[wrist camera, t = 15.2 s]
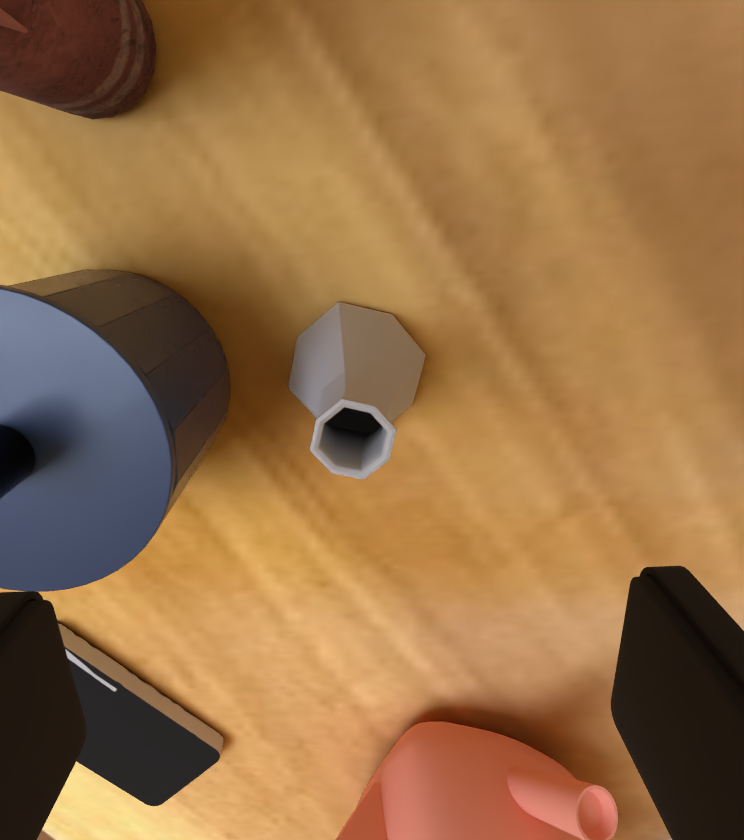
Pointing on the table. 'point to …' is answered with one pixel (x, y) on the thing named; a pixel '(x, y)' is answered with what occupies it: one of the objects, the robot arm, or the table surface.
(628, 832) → the table surface
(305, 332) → the flask
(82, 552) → the pot lid
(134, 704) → the smartphone
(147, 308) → the pot
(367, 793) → the teapot
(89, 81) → the can
